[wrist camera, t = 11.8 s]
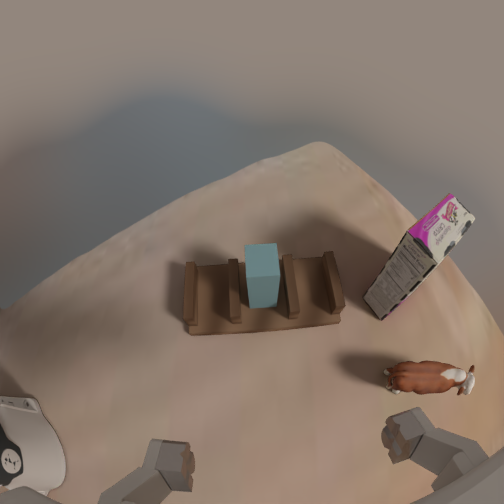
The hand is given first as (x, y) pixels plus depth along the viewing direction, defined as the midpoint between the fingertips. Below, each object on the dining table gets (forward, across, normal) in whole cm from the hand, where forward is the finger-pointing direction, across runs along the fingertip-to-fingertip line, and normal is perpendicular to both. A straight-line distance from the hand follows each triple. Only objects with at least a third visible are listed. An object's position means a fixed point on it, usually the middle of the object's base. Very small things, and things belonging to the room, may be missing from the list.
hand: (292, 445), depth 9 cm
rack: (+29, -1, +5) cm, 29 cm away
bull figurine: (+17, -21, +16) cm, 32 cm away
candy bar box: (+28, -21, +6) cm, 35 cm away
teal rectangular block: (+28, -1, +4) cm, 28 cm away
